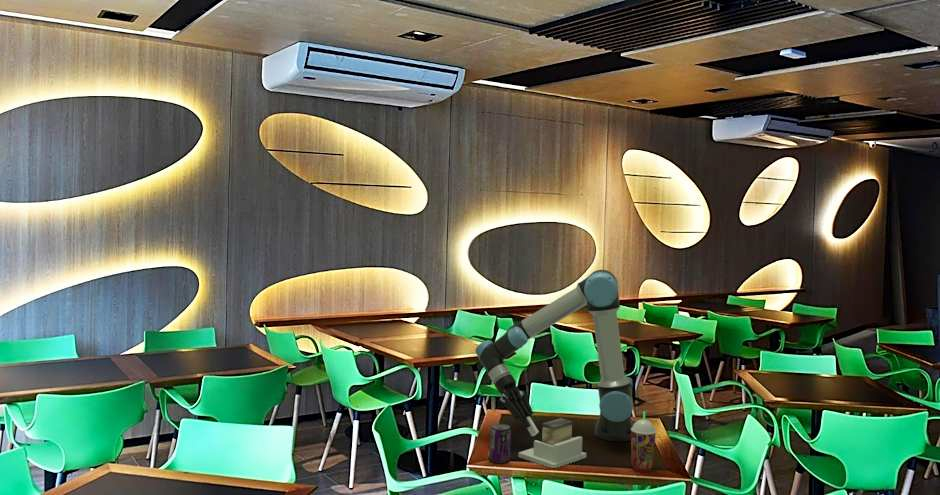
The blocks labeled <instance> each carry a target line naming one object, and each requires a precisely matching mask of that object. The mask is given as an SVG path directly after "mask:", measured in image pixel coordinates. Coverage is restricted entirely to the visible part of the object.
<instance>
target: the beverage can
mask: <svg viewBox="0 0 940 495" xmlns="http://www.w3.org/2000/svg"><path fill="white" fill-rule="evenodd" d="M511 438H512V430H511V426H510V425H508V424H506V423H505V424H504V423H495V424H492V426H491V429H490V432H489V460H491V461H493V462H494V463H495V464H496V463H497V464H504V463H506V462H509V461H510V460H511V446H512V445H511V442H512V440H511Z"/></svg>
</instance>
